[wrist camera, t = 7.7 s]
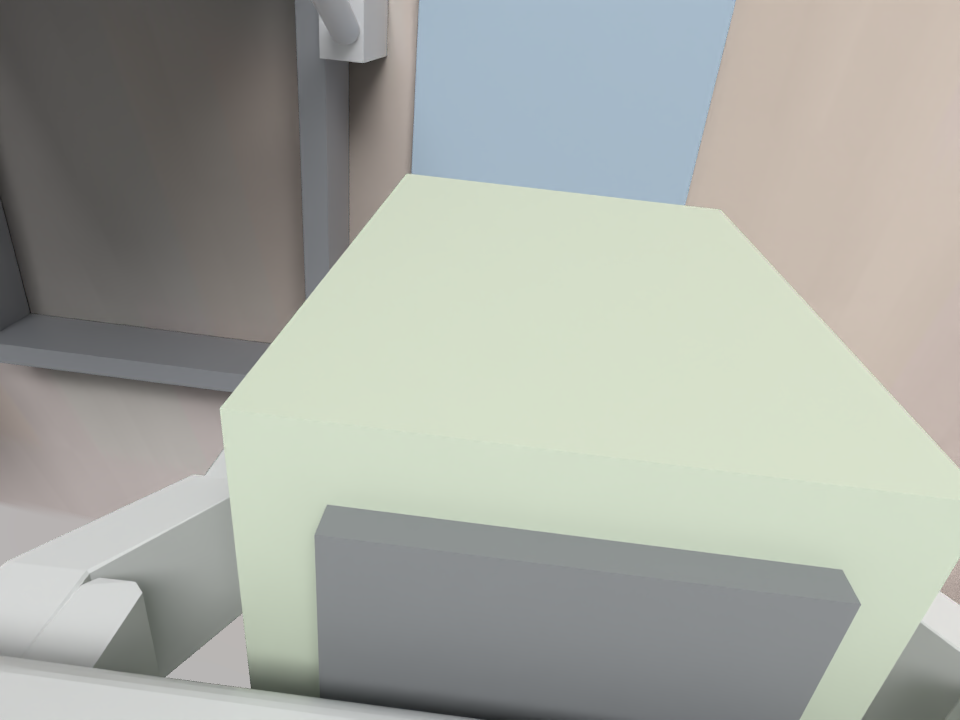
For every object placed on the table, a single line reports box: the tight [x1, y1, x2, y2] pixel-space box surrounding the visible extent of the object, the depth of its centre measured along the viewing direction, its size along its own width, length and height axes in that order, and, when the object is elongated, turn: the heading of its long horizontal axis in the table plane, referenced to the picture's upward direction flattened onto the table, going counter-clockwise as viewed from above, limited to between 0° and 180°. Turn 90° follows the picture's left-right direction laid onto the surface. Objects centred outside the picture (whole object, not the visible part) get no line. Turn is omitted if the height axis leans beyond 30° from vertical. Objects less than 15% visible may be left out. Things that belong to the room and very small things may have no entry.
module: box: [220, 174, 960, 720], centre depth 9 cm, size 5×7×7 cm
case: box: [0, 0, 388, 392], centre depth 16 cm, size 15×18×13 cm
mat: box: [412, 0, 736, 205], centre depth 22 cm, size 9×15×1 cm, turn 175°
